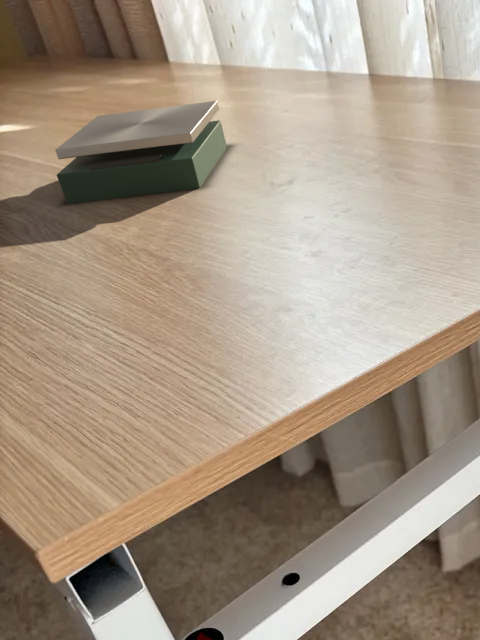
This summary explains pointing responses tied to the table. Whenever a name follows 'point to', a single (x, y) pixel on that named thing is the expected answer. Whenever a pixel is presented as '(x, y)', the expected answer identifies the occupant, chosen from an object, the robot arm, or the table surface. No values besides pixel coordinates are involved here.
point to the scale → (143, 169)
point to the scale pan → (139, 130)
